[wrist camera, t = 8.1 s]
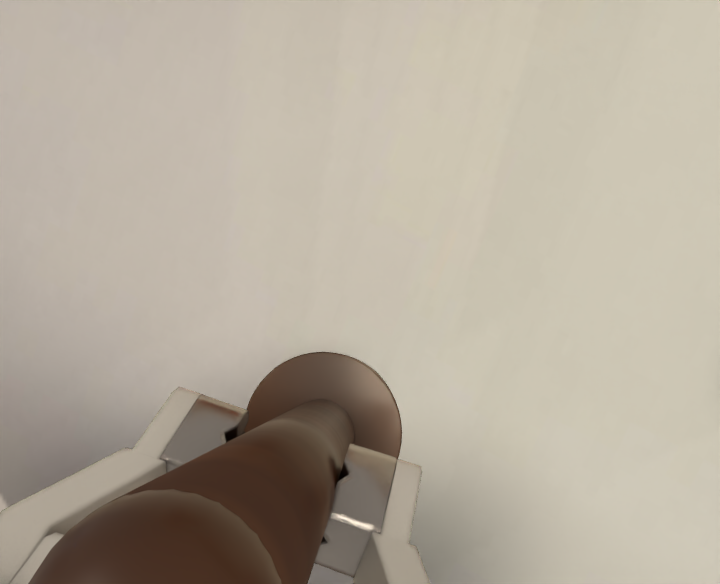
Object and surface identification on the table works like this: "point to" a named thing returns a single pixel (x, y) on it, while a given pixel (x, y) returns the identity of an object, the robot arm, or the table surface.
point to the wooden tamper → (241, 489)
